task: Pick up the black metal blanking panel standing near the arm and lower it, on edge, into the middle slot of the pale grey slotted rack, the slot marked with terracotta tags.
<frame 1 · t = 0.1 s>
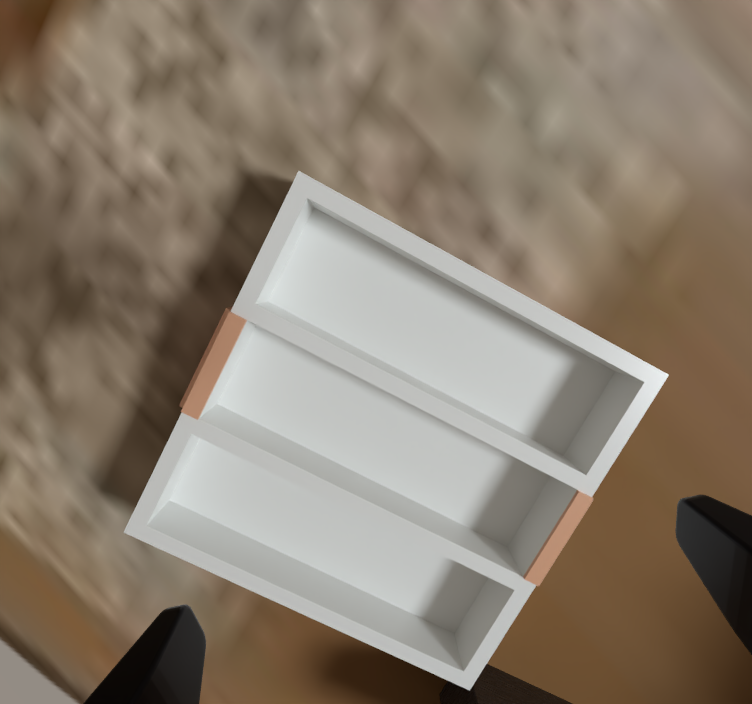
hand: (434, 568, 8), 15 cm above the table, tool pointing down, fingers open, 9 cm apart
slot rack: (389, 433, 24), on the table
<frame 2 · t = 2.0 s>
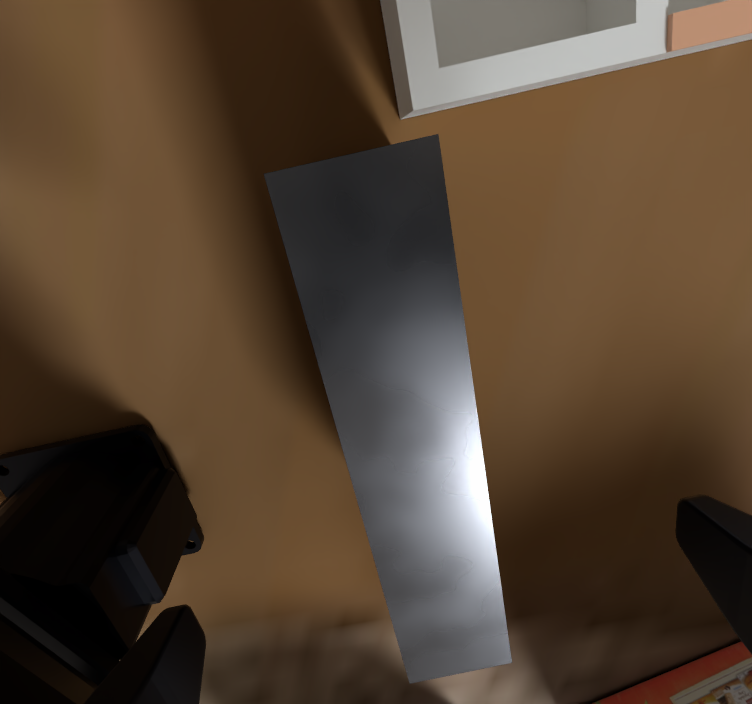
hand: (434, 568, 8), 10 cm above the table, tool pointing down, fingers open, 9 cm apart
cracker box: (680, 687, 28), on the table
blanking panel: (388, 348, 18), on the table
when the fingers open (4 cm above the table, at t = 10.9 s): blanking panel stays where it is, resting on slot rack.
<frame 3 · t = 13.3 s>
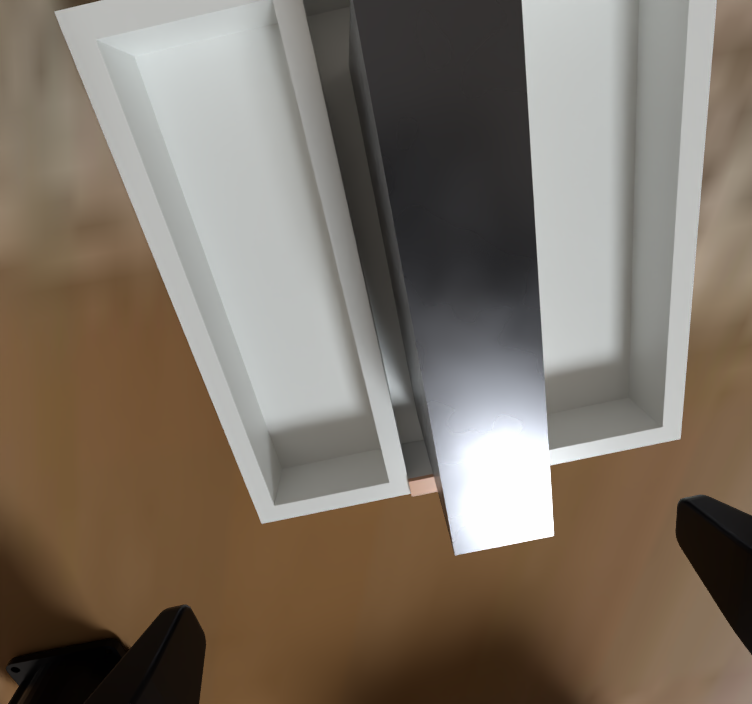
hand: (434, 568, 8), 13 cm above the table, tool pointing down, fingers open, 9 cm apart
blanking panel: (425, 259, 18), resting on slot rack
slot rack: (423, 254, 19), on the table
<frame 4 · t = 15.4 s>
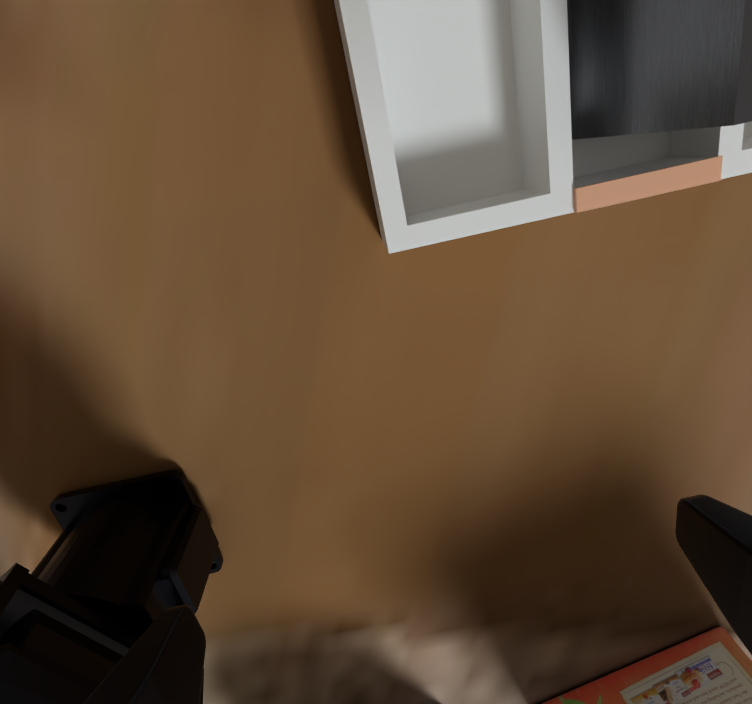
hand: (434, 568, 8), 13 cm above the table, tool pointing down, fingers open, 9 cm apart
cracker box: (632, 683, 32), on the table
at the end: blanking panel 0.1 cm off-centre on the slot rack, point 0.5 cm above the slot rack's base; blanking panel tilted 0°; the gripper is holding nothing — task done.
